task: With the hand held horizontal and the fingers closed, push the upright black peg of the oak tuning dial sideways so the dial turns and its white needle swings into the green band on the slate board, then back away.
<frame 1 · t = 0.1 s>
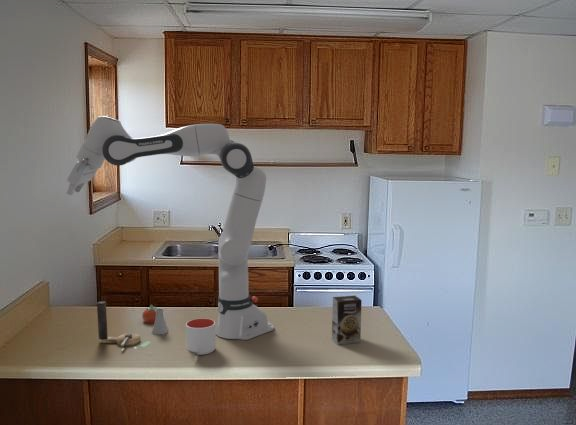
hand: (73, 192, 187), 54 cm above the countertop, tool tilted 30°, fingers open, 8 cm apart
flask: (160, 335, 199), on the countertop
tomato: (152, 324, 211), on the countertop
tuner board: (122, 346, 189), on the countertop
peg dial: (116, 324, 186), point 9 cm above the countertop, hinge at -35.0°
cup: (201, 351, 185), on the countertop
coffee box: (346, 341, 194), on the countertop
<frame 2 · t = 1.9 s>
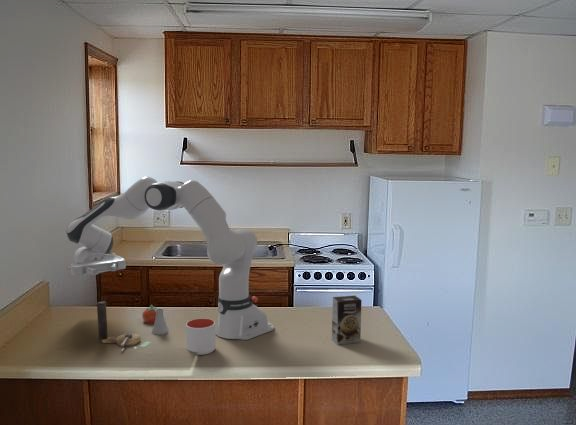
hand: (104, 270, 199), 24 cm above the countertop, tool horizontal, fingers open, 6 cm apart
nothing on the countertop moved.
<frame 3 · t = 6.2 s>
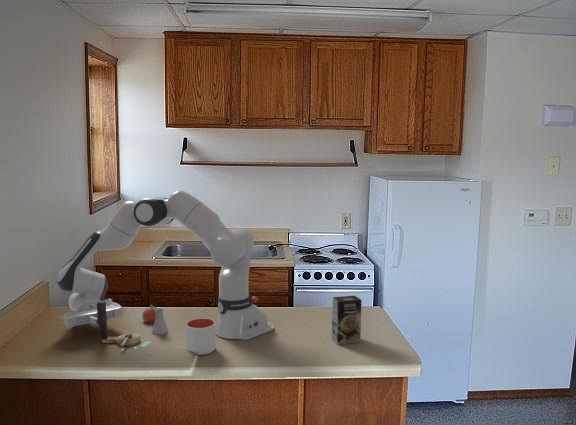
hand: (99, 321, 189), 9 cm above the countertop, tool horizontal, fingers closed, pressing on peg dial
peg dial: (116, 324, 186), point 9 cm above the countertop, hinge at -34.6°, touching gripper
everything else where it was.
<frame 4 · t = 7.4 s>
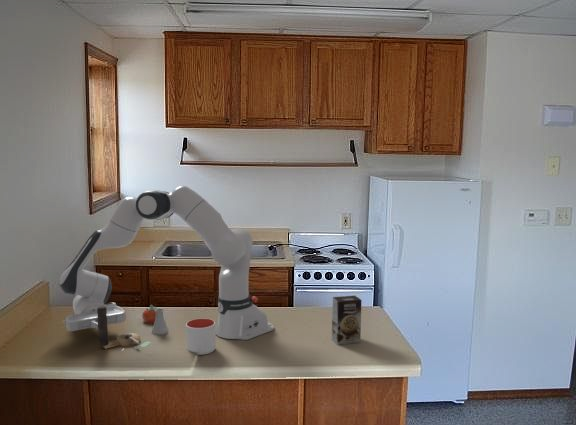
hand: (101, 326, 183), 9 cm above the countertop, tool horizontal, fingers closed, pressing on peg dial
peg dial: (121, 325, 184), point 9 cm above the countertop, hinge at 4.9°, touching gripper
everything else where it was.
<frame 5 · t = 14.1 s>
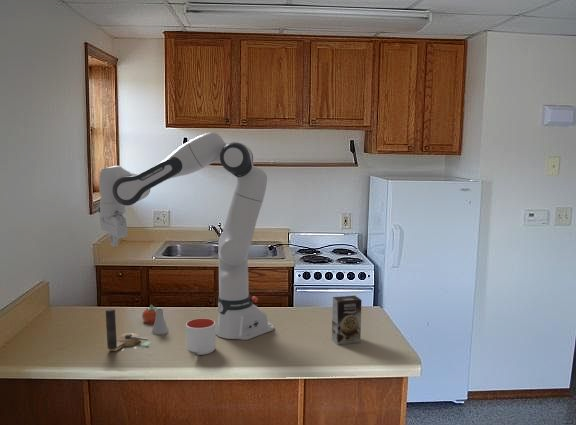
hand: (114, 246, 199), 33 cm above the countertop, tool pointing down, fingers closed
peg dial: (126, 326, 184), point 9 cm above the countertop, hinge at 34.2°
everything else where it was.
at the end: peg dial at +34° (first picture: -35°) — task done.
